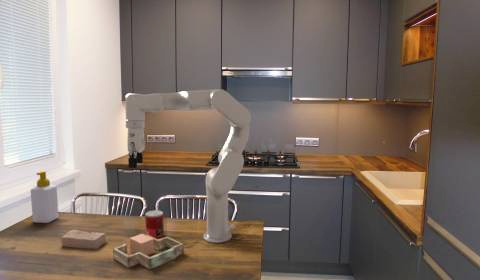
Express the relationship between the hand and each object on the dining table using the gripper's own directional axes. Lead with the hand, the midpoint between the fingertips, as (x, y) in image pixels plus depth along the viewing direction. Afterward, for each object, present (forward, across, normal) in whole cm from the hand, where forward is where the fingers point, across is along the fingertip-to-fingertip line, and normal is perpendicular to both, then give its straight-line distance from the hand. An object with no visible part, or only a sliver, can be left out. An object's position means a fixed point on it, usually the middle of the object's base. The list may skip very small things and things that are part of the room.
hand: (135, 165), depth 148 cm
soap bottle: (+36, +31, +53) cm, 72 cm away
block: (+35, -7, -4) cm, 36 cm away
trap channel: (+35, -10, -8) cm, 37 cm away
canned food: (+35, +9, -6) cm, 37 cm away
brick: (+36, +2, +23) cm, 43 cm away
